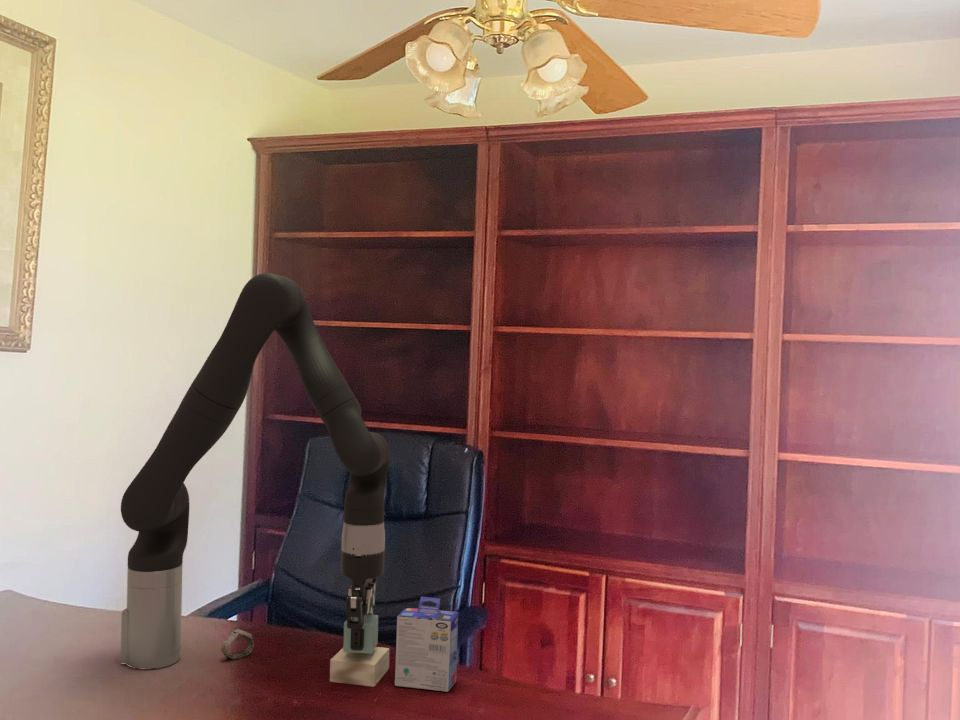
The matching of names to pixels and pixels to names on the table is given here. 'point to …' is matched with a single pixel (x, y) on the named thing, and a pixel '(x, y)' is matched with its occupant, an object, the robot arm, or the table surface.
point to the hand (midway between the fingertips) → (360, 643)
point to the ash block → (359, 667)
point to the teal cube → (369, 635)
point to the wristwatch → (232, 638)
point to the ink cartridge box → (426, 647)
